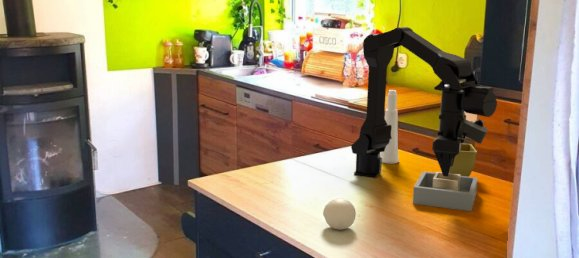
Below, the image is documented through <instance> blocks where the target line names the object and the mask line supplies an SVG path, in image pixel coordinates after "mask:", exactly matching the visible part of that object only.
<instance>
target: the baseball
mask: <svg viewBox="0 0 579 258" xmlns="http://www.w3.org/2000/svg"><path fill="white" fill-rule="evenodd" d="M322 214H323V217H324V220H325V223H326V224H327V225H328V226H329V227H331V228H332V229H334V230H346V229H349V228H350V227H352V226H353V224H354V223H355V220H356V215H357V212H356V208H355V206H354V205H353V203H352V202H351V201H350V200H348V199H345V198H334V199H331V200H330V201H329V202H328V203H327V204H326V205H325V206H324V208H323V212H322Z"/></svg>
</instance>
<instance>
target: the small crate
mask: <svg viewBox="0 0 579 258" xmlns="http://www.w3.org/2000/svg"><path fill="white" fill-rule="evenodd" d="M435 173H436V174H435V176H434V178H433V187H432V188H436V189H444V190H452V191H459V187H460V175H459V174H451V173H449V174H448V176H447V177H446V176H443V174H442V171H436V172H435Z"/></svg>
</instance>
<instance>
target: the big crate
mask: <svg viewBox="0 0 579 258" xmlns="http://www.w3.org/2000/svg"><path fill="white" fill-rule="evenodd" d="M435 174H436V172H430V171H424V170H423V171H422V172H421V174H420V176H419V177H418V179H417V181H416V183H415V184H414V186H413V192H412V193H413V194H412V196H413V197H412V204H414V205H422V206H430V207H435V208H443V209H451V210H452V209H453V210H456V211H457V210H458V211H466V212H472V211H473V207H474V203H475V200H476V197H477V196H476V195H477V191H478V190H477V188H478V177H473V176H469V177H467V176H460V187H459V191H452V190H444V189H436V188H432V187H433V178H434V176H435Z"/></svg>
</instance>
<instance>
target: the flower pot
mask: <svg viewBox="0 0 579 258" xmlns="http://www.w3.org/2000/svg"><path fill="white" fill-rule="evenodd" d="M477 154H478V151H477V150H476V148H475V147H474V146H473V144H472V143H462V144H461V148H460V152H459V154H458V155H456V156H455V159H454V163H453V166H452V167H450V171H449V173H451V174H459V175H460V176H467V177H471V175H472V172H473V170H474V167H475V164H476V158H477Z"/></svg>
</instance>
